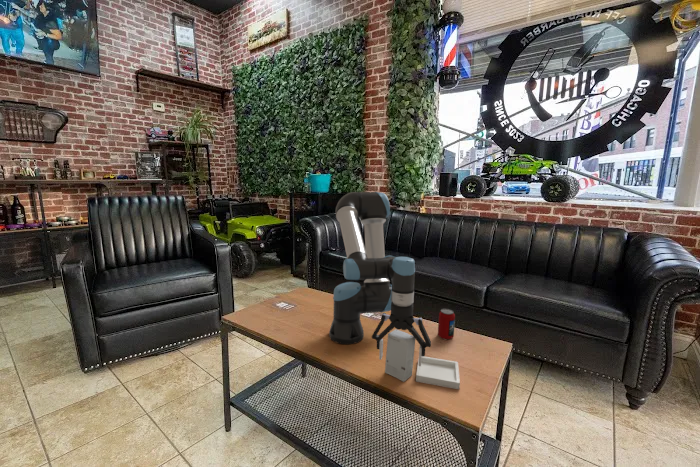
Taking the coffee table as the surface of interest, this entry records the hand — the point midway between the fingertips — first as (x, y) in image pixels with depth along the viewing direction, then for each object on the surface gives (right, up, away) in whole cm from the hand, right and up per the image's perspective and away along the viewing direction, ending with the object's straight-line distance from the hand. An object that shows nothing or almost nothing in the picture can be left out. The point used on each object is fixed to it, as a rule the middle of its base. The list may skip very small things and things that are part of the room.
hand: (400, 361), depth 108 cm
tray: (+13, -5, +1) cm, 14 cm away
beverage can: (+25, -1, +29) cm, 38 cm away
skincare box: (0, -5, +1) cm, 5 cm away
